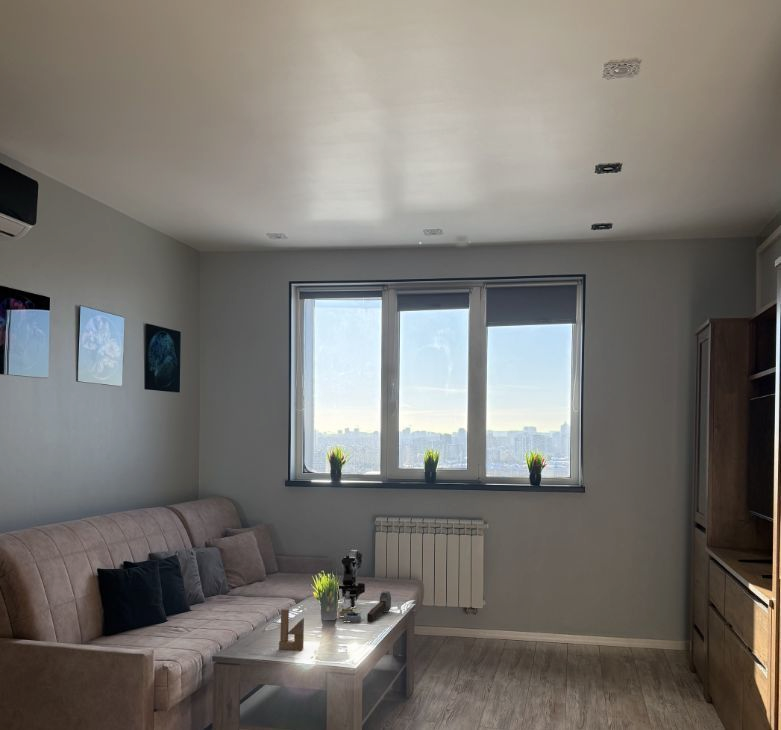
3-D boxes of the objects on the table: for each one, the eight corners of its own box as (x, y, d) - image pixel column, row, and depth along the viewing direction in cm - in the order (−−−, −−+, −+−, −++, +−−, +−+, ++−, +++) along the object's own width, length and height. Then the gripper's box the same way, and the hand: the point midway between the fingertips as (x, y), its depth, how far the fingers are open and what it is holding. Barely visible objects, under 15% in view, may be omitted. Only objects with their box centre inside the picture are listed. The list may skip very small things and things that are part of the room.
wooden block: (301, 651, 363) (302, 610, 364) (278, 649, 365) (279, 609, 366) (303, 649, 366) (304, 609, 368) (281, 647, 368) (282, 607, 370)
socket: (344, 618, 426) (344, 612, 427) (360, 618, 427) (361, 612, 427) (343, 622, 417) (343, 616, 418) (360, 622, 418) (360, 616, 418)
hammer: (374, 629, 418) (391, 609, 446) (373, 608, 417) (390, 590, 446) (365, 628, 419) (383, 609, 448) (365, 607, 419) (382, 589, 447)
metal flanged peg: (343, 614, 434) (344, 590, 435) (350, 615, 434) (351, 590, 435) (343, 616, 430) (343, 592, 431) (350, 616, 430) (351, 592, 431)
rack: (340, 614, 436) (340, 608, 436) (354, 614, 436) (354, 608, 436) (339, 617, 428) (339, 611, 428) (354, 617, 428) (354, 611, 428)
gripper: (331, 567, 437) (329, 592, 426) (365, 568, 438) (364, 592, 426) (331, 579, 445) (330, 604, 433) (365, 579, 445) (364, 604, 433)
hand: (347, 601), depth 431 cm, fingers open, 9 cm apart
